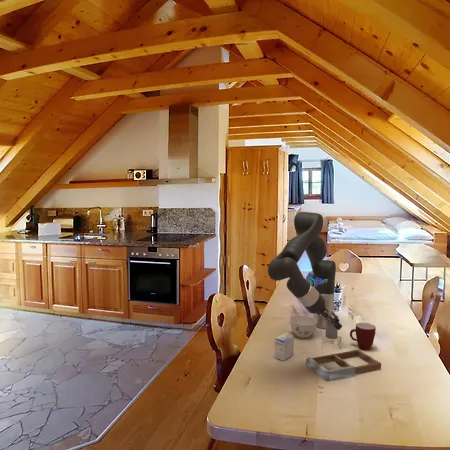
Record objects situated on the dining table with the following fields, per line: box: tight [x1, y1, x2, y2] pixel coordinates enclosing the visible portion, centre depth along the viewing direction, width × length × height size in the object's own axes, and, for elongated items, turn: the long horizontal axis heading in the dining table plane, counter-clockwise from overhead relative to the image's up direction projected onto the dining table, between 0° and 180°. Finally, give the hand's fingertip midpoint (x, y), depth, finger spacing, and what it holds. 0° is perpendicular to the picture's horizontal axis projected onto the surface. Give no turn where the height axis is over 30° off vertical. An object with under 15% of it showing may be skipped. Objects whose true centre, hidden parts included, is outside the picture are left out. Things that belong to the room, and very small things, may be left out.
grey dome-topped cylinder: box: [324, 314, 339, 340], centre depth 145 cm, size 4×4×8 cm
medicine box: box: [274, 332, 295, 362], centre depth 158 cm, size 8×4×9 cm, turn 141°
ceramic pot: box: [305, 270, 328, 288], centre depth 244 cm, size 18×18×15 cm
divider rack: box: [305, 349, 382, 382], centre depth 149 cm, size 14×25×4 cm, turn 111°
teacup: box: [289, 314, 317, 339], centre depth 181 cm, size 15×12×8 cm
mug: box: [349, 322, 376, 351], centre depth 167 cm, size 10×8×10 cm
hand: (335, 325), depth 146 cm, fingers closed on grey dome-topped cylinder, 4 cm apart
